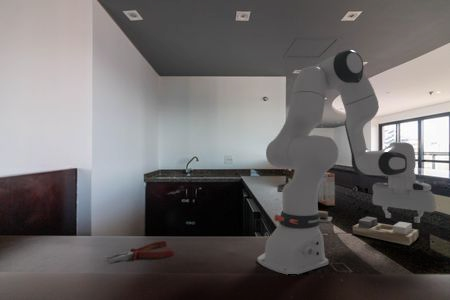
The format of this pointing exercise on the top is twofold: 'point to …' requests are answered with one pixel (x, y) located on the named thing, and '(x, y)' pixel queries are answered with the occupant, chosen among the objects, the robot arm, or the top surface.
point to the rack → (383, 231)
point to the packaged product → (324, 217)
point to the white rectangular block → (402, 228)
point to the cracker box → (327, 190)
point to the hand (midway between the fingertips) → (402, 220)
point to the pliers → (144, 252)
